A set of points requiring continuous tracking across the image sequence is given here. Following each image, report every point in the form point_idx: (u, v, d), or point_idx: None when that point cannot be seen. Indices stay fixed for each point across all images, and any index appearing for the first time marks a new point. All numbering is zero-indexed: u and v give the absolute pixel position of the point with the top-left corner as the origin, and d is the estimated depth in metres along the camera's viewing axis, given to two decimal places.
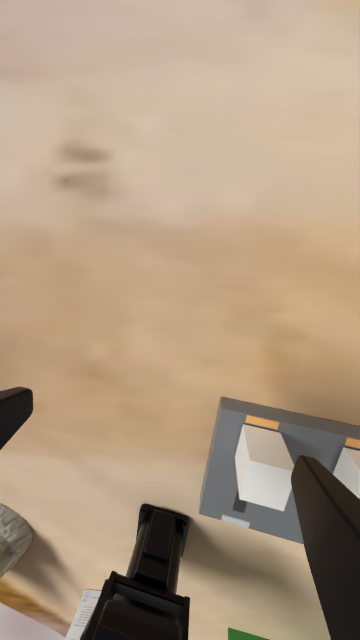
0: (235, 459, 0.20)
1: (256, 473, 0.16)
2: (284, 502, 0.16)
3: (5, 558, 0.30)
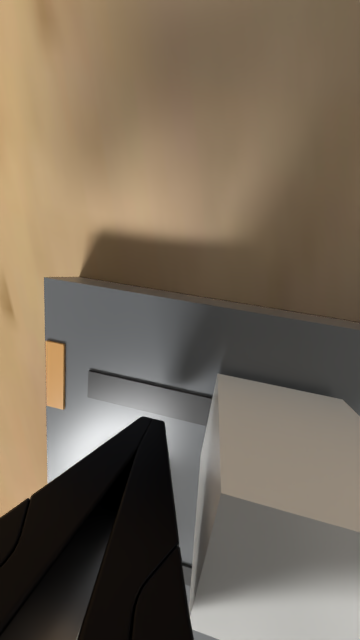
0: None
1: None
2: None
3: None
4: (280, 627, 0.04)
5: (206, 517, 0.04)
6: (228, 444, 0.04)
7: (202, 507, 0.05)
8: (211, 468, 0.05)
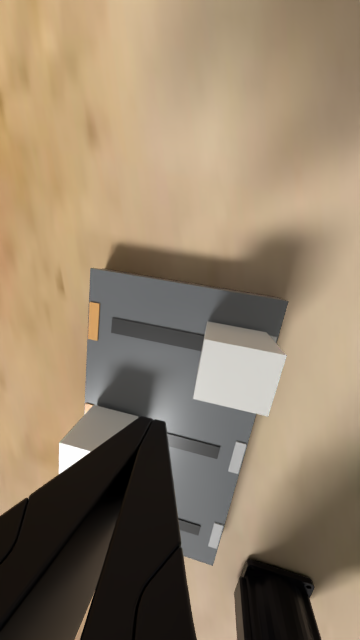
0: None
1: None
2: None
3: None
4: (224, 390, 0.11)
5: (200, 360, 0.11)
6: (208, 334, 0.11)
7: None
8: (202, 347, 0.12)
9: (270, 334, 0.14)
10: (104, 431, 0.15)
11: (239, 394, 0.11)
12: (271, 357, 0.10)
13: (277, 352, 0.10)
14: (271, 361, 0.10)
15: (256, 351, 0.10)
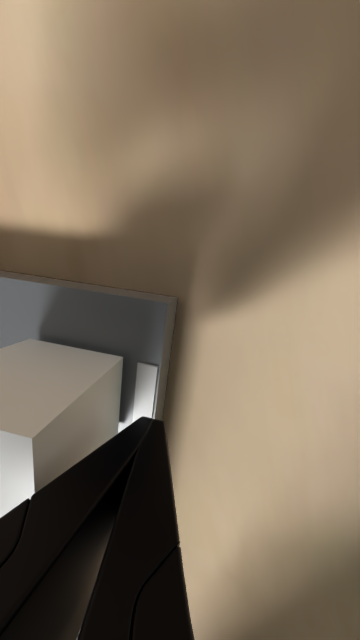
0: None
1: None
2: None
3: None
4: None
5: None
6: None
7: None
8: None
9: (147, 362, 0.08)
10: None
11: None
12: (2, 440, 0.04)
13: (27, 425, 0.04)
14: (5, 450, 0.04)
15: None
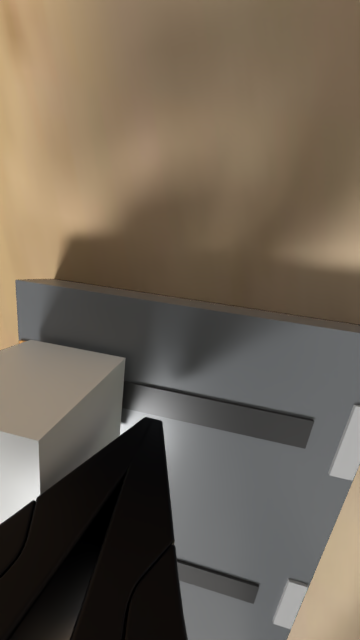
0: None
1: None
2: None
3: None
4: None
5: None
6: None
7: None
8: None
9: None
10: None
11: None
12: (7, 442, 0.04)
13: (31, 428, 0.04)
14: (11, 452, 0.04)
15: None
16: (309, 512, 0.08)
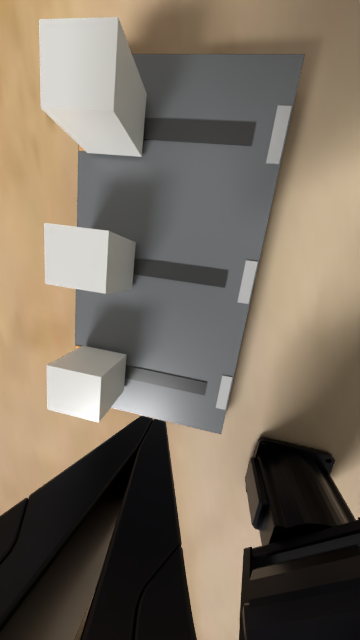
0: None
1: (60, 403, 0.14)
2: (88, 376, 0.14)
3: None
4: (67, 86, 0.10)
5: None
6: None
7: None
8: None
9: (284, 105, 0.12)
10: None
11: (82, 88, 0.10)
12: (103, 24, 0.09)
13: (113, 23, 0.09)
14: (104, 30, 0.09)
15: (89, 21, 0.09)
16: (256, 198, 0.14)
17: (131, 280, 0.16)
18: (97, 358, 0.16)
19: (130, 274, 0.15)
